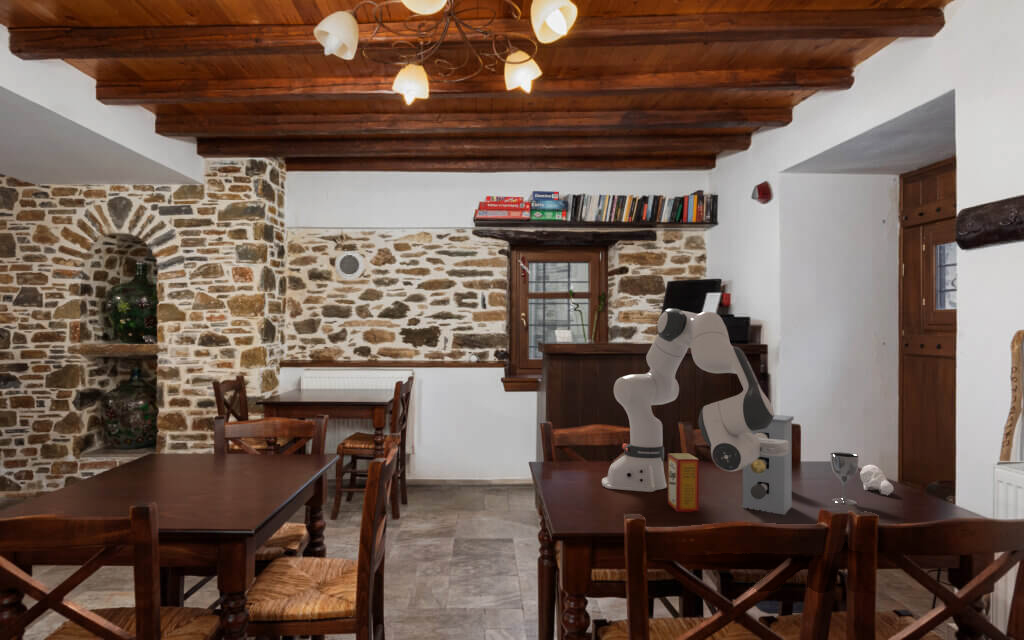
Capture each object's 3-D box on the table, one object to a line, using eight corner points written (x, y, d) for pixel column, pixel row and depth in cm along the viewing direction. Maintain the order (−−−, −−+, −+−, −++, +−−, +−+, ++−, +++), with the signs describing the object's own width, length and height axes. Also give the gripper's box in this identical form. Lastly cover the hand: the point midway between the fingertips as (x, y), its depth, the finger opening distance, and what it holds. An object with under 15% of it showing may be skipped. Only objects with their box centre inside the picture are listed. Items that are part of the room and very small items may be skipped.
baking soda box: (667, 503, 195) (667, 452, 196) (688, 502, 196) (688, 452, 196) (677, 511, 186) (677, 458, 186) (698, 511, 186) (698, 458, 186)
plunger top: (766, 447, 183) (766, 433, 183) (752, 446, 185) (752, 432, 185) (774, 443, 191) (774, 429, 191) (760, 441, 193) (760, 428, 193)
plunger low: (764, 500, 181) (764, 486, 181) (750, 498, 183) (750, 484, 183) (772, 493, 189) (772, 480, 189) (758, 491, 191) (758, 478, 191)
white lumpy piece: (875, 462, 217) (900, 473, 205) (873, 486, 218) (899, 499, 206) (858, 463, 216) (883, 474, 205) (857, 487, 217) (881, 499, 205)
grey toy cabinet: (785, 515, 183) (785, 420, 184) (740, 507, 191) (740, 416, 191) (793, 507, 192) (793, 416, 193) (750, 500, 200) (750, 412, 200)
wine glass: (825, 498, 203) (825, 452, 203) (850, 498, 203) (850, 452, 203) (837, 504, 195) (837, 457, 195) (863, 505, 195) (863, 457, 195)
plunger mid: (764, 474, 181) (764, 460, 181) (750, 472, 183) (750, 458, 183) (772, 468, 189) (772, 455, 189) (758, 466, 191) (758, 453, 191)
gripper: (784, 439, 162) (794, 433, 173) (705, 432, 173) (720, 427, 185) (784, 464, 161) (794, 455, 173) (705, 455, 173) (720, 448, 184)
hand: (755, 441), depth 179 cm, fingers closed
